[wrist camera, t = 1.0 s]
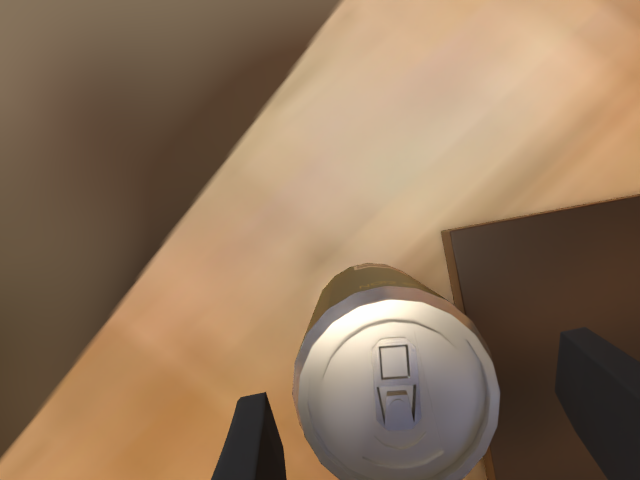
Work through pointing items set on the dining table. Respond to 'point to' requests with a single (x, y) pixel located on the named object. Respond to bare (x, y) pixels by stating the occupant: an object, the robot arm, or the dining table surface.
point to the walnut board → (546, 319)
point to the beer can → (394, 380)
